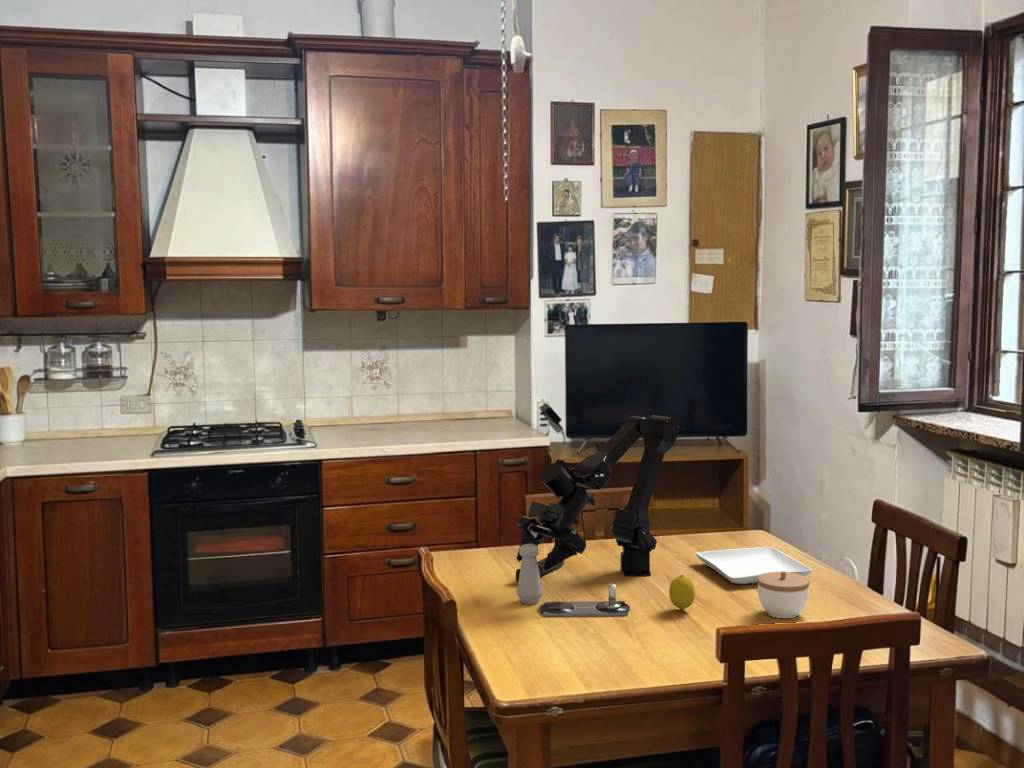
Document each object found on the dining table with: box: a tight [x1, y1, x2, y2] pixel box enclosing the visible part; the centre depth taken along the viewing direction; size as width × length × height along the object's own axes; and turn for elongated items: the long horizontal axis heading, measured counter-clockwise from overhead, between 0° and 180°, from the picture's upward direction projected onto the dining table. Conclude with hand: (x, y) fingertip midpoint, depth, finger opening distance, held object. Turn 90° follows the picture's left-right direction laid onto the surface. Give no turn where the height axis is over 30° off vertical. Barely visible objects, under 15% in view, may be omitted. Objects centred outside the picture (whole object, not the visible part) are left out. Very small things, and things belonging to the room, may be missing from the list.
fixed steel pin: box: [604, 583, 621, 610], centre depth 225 cm, size 4×4×5 cm
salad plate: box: [695, 546, 813, 585], centre depth 250 cm, size 21×21×3 cm
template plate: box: [539, 600, 631, 618], centre depth 225 cm, size 20×8×1 cm, turn 89°
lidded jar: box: [756, 571, 810, 619], centre depth 220 cm, size 11×11×9 cm
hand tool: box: [515, 551, 565, 583], centre depth 252 cm, size 19×4×5 cm, turn 143°
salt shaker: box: [516, 544, 543, 606], centre depth 231 cm, size 6×6×13 cm
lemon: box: [668, 574, 696, 612], centre depth 224 cm, size 6×6×8 cm
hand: (530, 564), depth 231 cm, fingers open, 9 cm apart
